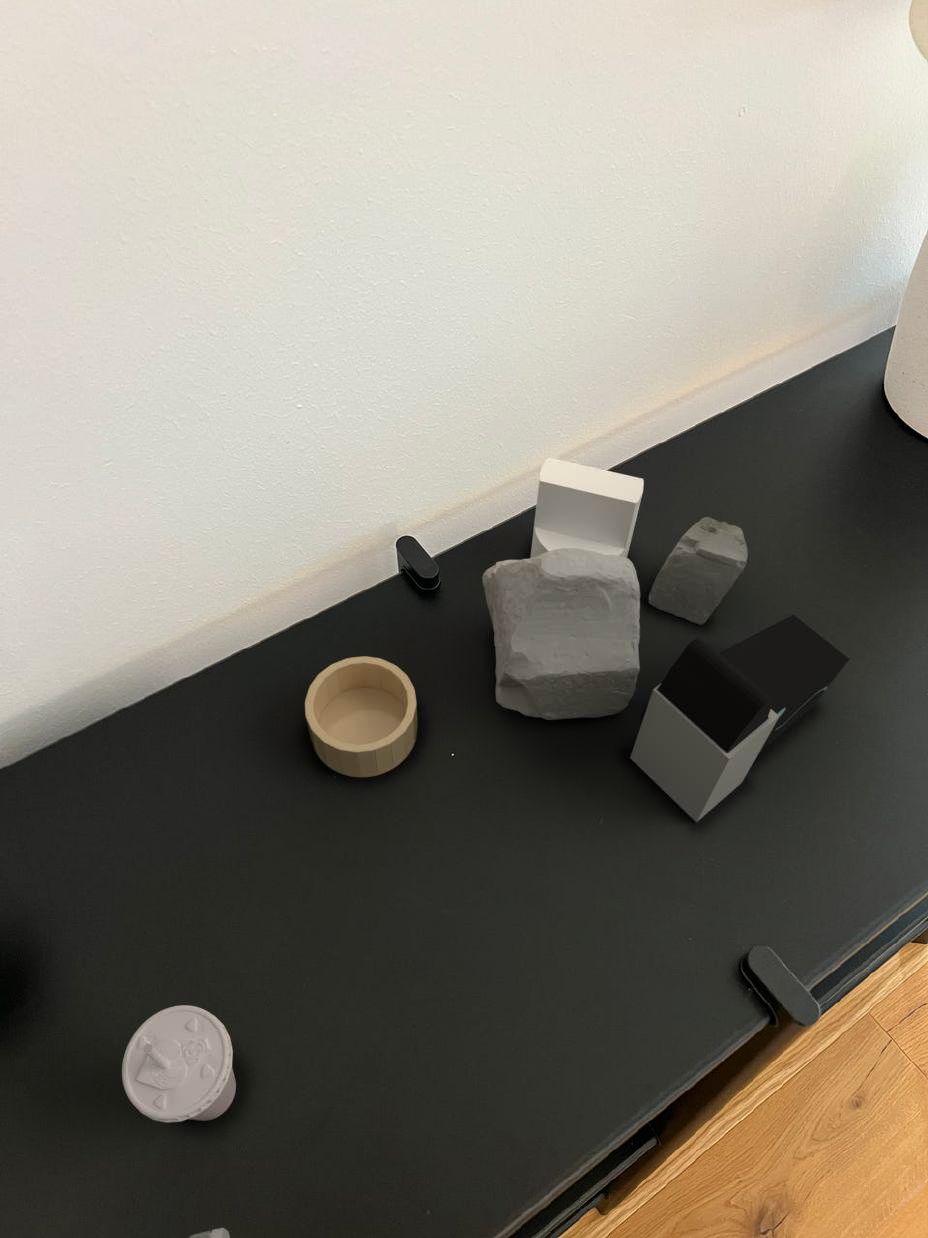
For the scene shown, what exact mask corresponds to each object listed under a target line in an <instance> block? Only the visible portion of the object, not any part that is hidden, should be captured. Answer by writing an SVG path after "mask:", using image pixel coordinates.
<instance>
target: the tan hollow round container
mask: <svg viewBox="0 0 928 1238" xmlns="http://www.w3.org/2000/svg"><path fill="white" fill-rule="evenodd" d="M417 706H418V703H417V696H416V690H415V687H414V684H413V683H412V682H411V679H410V677H409V676H408V675H407V674H406V673H405V672H404V671H403V670H402V669H401V668H400V667H398V665H395V664H394V663H391V662H389V661H388V660H385V659H383V658H380V657H373V656H367V655H365V656H364V655H363V656H354V657H348V658H344V659H342V660H339V661H337V662H334V663H332V664H330V665H329V666H327V667H326V668H325V669H323V670H322V671H321V672H319V673H318V674H317V675H316V677H315V679H314V680H313V681H312V683H311V684H310V685H309V687H308V690H307V693H306V696H305V700H304V713H305V714H304V715H305V719H306V720H305V721H306V725H307V728H308V733H309V737H310V741H311V743H312V747H313V749H314V752H315V753H316V755H317V757H318V758H319V759H320V760H321V762H322V763H323V764H325V765H326V766H327V767H328V768H330V769H331V770H332V771H334V772H336V773H338V774H340V775H344V776H348V777H353V778H369V777H376V776H379V775H380V776H381V775H383V774H385V773H387V772H390V771H391V770H393V769H395V768H396V767H397V766H399V765H400V764H402V762H403V761H404V760H405V759H406V758H407V757H408V756H409V754H410V753H411V751H412V749H413V748H414V746H415V743H416V740H417V737H418V736H417V735H418V707H417Z"/></svg>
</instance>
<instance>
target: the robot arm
mask: <svg viewBox="0 0 928 1238" xmlns="http://www.w3.org/2000/svg"><path fill="white" fill-rule="evenodd" d="M189 1238H231V1236H230V1232H229V1231H228V1230H227V1229H226V1228H225V1227H220V1228H214V1229H211V1230H206V1231H203V1232H197V1233H194V1234H190V1235H189Z"/></svg>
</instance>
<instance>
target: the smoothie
mask: <svg viewBox="0 0 928 1238" xmlns="http://www.w3.org/2000/svg"><path fill="white" fill-rule="evenodd" d="M231 1040H232V1039H231V1036H230V1035H229V1032H228V1030H227V1029H226V1026H225V1025H224V1024H223V1023H222V1022H221V1021H220V1019H218V1018H217V1017H216V1015H214V1014H212V1013H211V1012H209V1011H207V1010H206V1009H203V1008H201V1007H198V1006H195V1005H187V1004H185V1005H184V1004H183V1005H174V1006H170V1007H168V1008H167V1007H166V1008H164V1009H161V1010H160V1011H158V1012H156V1013H154V1014H153V1015H151V1016H150V1017H149V1018H148V1019H146V1020H145V1021H143V1023H142V1024H141V1025H140V1026H139V1027H138V1028H137V1029H136V1031H135V1032H134V1033H133V1035H132V1036H131V1038H130V1040H129V1041H128V1044H127V1046H126V1049H125V1052H124V1054H123V1059H122V1065H121V1079H122V1085H123V1088H124V1091H125V1094H126V1096H127V1098H128V1099H129V1101H130V1102H131V1104H132V1105H133V1106H134V1107H135V1108H136V1109H137V1110H138V1111H139V1112H140V1113H141V1115H144V1116H146V1117H148V1118H149V1119H151V1120H152V1121H156V1122H161V1123H166V1124H167V1123H179V1122H180V1123H181V1122H184V1121H186V1120H192V1121H193V1120H195V1121H212V1120H214V1119H217V1118H218V1117H220V1116H222V1115H223V1114H224V1113H225V1112H227V1110H228V1109H229V1108H230V1106H231V1104H232V1103H233V1101H234V1098H235V1095H236V1090H237V1083H236V1082H237V1081H236V1078H235V1072H234V1070H233V1069H234V1068H233V1058H234V1057H233V1055H234V1054H233V1053H234V1050H233V1045H232V1041H231Z"/></svg>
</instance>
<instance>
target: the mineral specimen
mask: <svg viewBox="0 0 928 1238" xmlns="http://www.w3.org/2000/svg"><path fill="white" fill-rule="evenodd" d="M748 551H749V550H748V546H747V541H746V540H745V535H744V532H743V529H742V528H740V527H739V526H737V525H733V524H729V523H728V522H726V521H718V520H716V519H714V518H712V517H709V516H705V517H703V518H700V520H699V521H697V522H695V523H694V525H692V526H691V527H689V529H688V530H687V531H686V532H685V533H684V534H683V535H682V537H681V538H680V539H679V541H678V542H677V543H676V545H675V546H674V548H673V550H672V551H671V553H670V554H669V555H668V557H667V558H666V560H665V562H664V564H663V565H662V566H661V568H660V570H659V572H658V573H657V575H656V577H655V580H654V582H653V584H652V586H651V588H650V591H649V594H648V604H649V605H650V606H652V607H653V608H656V609H657V610H660V611H662V612H665V613H669V614H672V615H673V616H675V617H679V618H683V619H684V620H686V621H689V622H690V623H694V624H697V625H705V623H706V622H707V621H708V620H709V618H710V616H711V615H712V614H713V613H714V612H715V610H716V609H717V607H719V606H720V604H721V602H722V601H723V600H724V599H725V597H726V595H727V594H728V592H729V591H730V590H731V589H732V587H734V584H735V583H736V581H737V579H738V578H739V576H740V575H741V574H742V573H743V572H744V569H745V567H746V566H747V563H748V562H749V559H748V556H749V555H748V554H749V553H748Z"/></svg>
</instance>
